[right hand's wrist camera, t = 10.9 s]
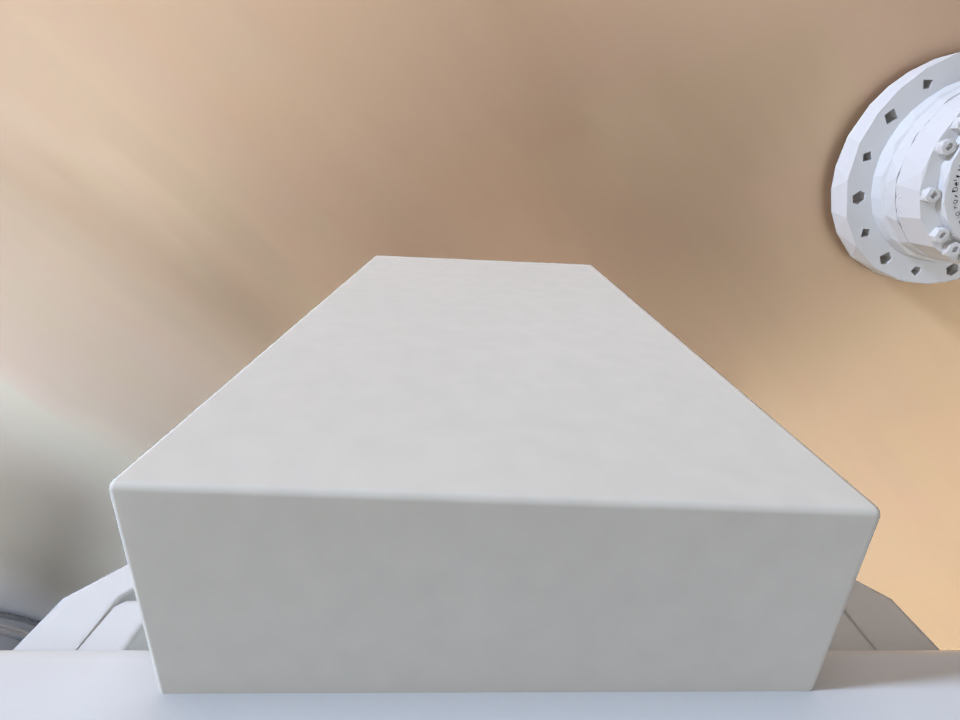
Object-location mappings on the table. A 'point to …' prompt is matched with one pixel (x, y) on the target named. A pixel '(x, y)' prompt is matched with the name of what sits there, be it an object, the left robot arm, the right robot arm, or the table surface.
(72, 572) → the table surface
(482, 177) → the table surface
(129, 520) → the box
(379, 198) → the table surface
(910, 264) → the mechanical component
